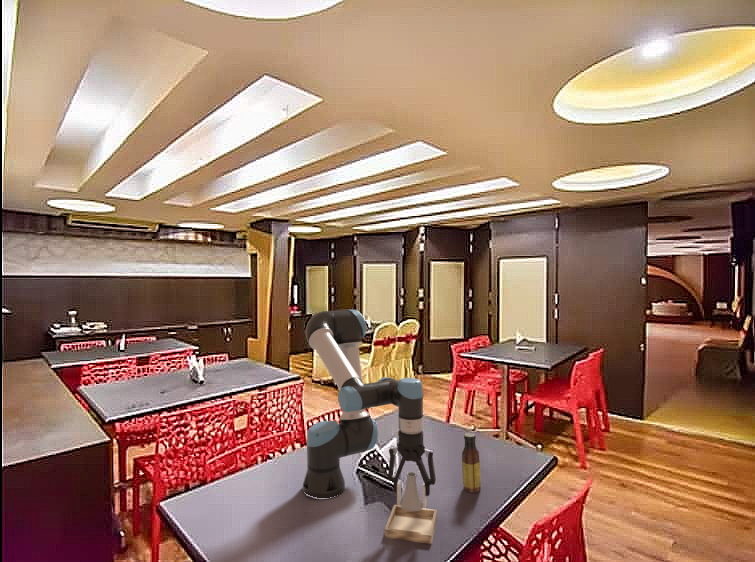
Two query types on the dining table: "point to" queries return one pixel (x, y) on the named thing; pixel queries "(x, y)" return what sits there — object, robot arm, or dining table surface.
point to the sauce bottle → (471, 464)
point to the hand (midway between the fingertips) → (411, 504)
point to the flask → (411, 494)
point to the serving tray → (411, 525)
